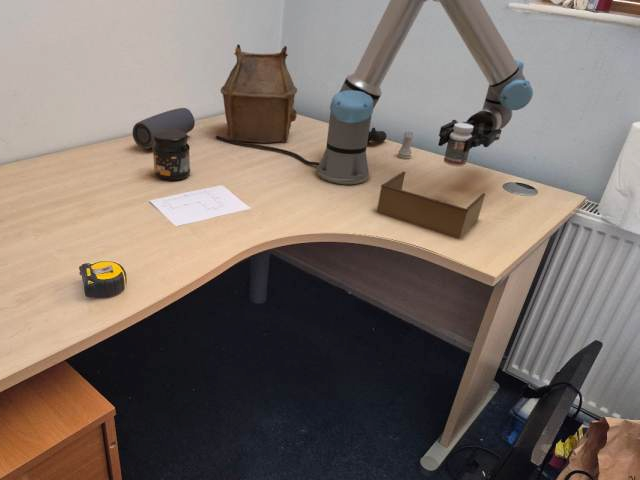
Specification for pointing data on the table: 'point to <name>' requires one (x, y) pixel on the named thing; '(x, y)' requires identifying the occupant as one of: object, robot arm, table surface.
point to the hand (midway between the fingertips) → (453, 143)
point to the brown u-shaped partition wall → (427, 209)
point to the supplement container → (171, 155)
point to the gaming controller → (376, 136)
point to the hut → (259, 98)
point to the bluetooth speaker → (162, 125)
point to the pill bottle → (458, 145)
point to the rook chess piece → (406, 146)
